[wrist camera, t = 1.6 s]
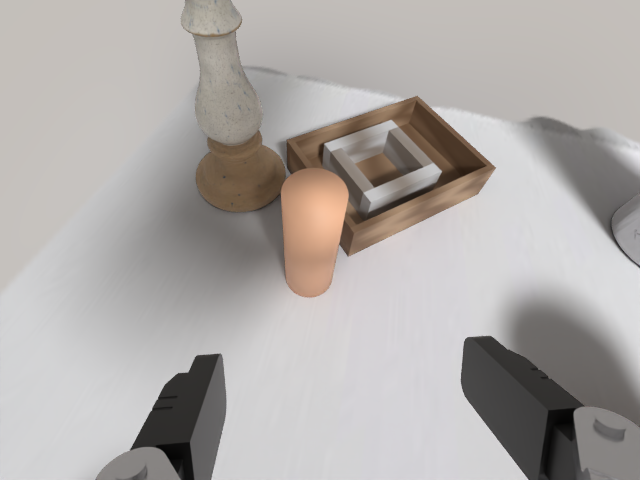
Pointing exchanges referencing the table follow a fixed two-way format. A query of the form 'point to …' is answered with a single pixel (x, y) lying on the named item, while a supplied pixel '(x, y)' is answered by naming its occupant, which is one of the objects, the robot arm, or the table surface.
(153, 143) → the table surface
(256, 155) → the candle holder
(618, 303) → the table surface
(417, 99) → the box
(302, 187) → the peg
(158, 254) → the table surface
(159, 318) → the table surface
